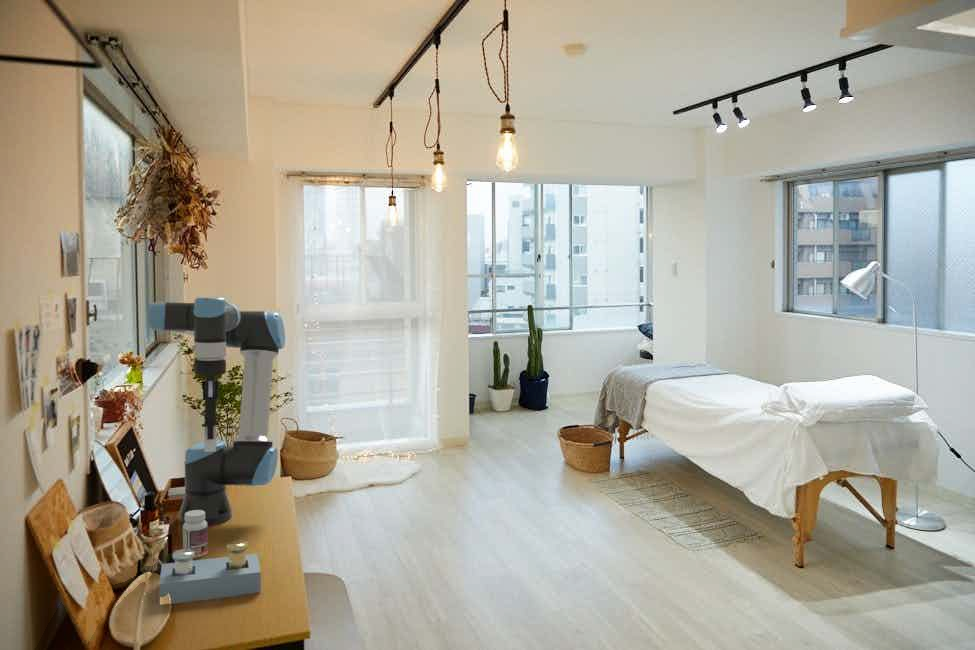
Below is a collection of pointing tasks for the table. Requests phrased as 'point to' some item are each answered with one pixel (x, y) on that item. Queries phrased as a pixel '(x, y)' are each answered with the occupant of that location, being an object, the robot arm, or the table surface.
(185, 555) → the small lidded jar
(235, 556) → the glass jar
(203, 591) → the socket block
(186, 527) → the pill bottle
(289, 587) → the table surface
